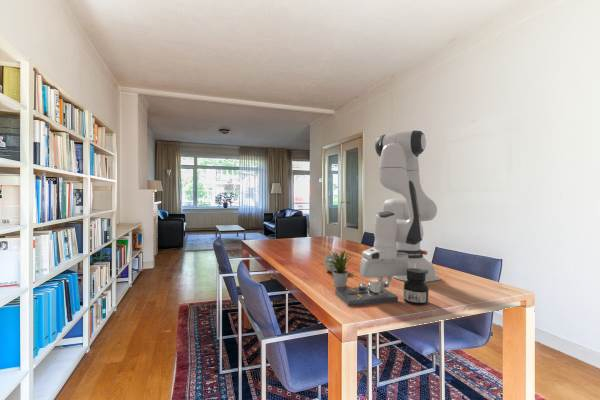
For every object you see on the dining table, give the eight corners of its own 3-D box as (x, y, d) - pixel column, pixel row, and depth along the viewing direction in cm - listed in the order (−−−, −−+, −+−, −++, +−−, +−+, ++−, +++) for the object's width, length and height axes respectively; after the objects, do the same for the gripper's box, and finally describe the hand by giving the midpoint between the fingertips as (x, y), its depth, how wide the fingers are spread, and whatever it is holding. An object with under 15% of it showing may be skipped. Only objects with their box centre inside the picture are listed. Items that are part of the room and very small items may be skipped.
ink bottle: (398, 301, 114) (399, 270, 114) (407, 295, 121) (407, 266, 121) (425, 308, 108) (425, 275, 108) (432, 301, 115) (433, 270, 115)
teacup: (330, 267, 166) (331, 253, 166) (348, 270, 160) (348, 255, 160) (317, 272, 155) (317, 257, 155) (335, 276, 149) (336, 260, 148)
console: (379, 290, 127) (379, 281, 127) (397, 302, 114) (398, 292, 114) (335, 293, 123) (335, 284, 123) (348, 306, 109) (348, 295, 109)
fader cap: (375, 289, 121) (375, 279, 121) (380, 292, 118) (380, 282, 117) (369, 289, 121) (369, 279, 121) (374, 292, 117) (374, 282, 117)
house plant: (327, 279, 144) (328, 245, 143) (356, 281, 140) (357, 246, 139) (320, 287, 130) (320, 250, 130) (352, 291, 126) (353, 252, 126)
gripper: (403, 250, 125) (403, 283, 126) (358, 252, 120) (357, 286, 121) (412, 253, 119) (412, 287, 119) (365, 255, 114) (364, 291, 115)
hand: (384, 287), depth 120 cm, fingers closed
